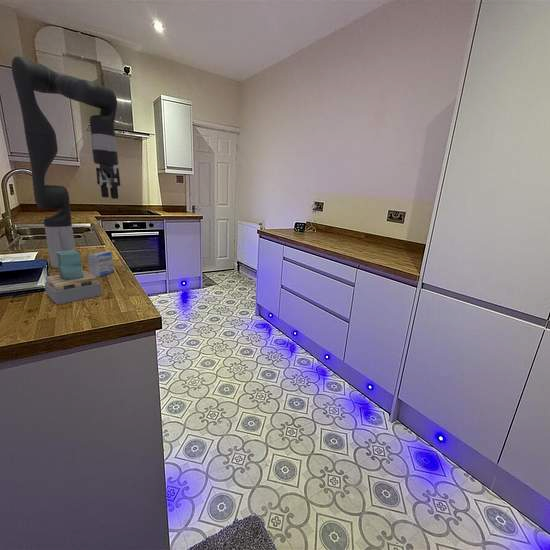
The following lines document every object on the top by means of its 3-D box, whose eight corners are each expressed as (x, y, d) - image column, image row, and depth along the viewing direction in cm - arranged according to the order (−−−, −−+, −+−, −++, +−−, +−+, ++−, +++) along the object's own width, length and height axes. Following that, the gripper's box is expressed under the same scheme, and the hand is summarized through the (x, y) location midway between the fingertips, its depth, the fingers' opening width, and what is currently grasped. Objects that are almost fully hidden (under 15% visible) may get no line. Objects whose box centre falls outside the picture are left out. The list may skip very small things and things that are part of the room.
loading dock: (46, 294, 92) (44, 282, 91) (88, 286, 101) (87, 275, 100) (57, 304, 84) (55, 292, 83) (101, 295, 93) (100, 283, 92)
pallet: (46, 282, 91) (45, 276, 90) (86, 276, 99) (85, 270, 98) (56, 291, 84) (55, 284, 83) (98, 283, 92) (97, 277, 92)
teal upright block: (59, 276, 91) (55, 252, 88) (78, 274, 94) (74, 250, 92) (64, 280, 88) (60, 254, 85) (83, 277, 91) (79, 252, 89)
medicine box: (99, 277, 111) (96, 255, 109) (89, 276, 112) (86, 254, 110) (114, 272, 119) (112, 251, 116) (105, 271, 119) (102, 250, 117)
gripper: (85, 149, 101) (91, 196, 106) (100, 147, 93) (106, 199, 97) (108, 152, 107) (113, 197, 111) (124, 150, 98) (129, 199, 103)
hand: (110, 198), depth 104 cm, fingers open, 8 cm apart
